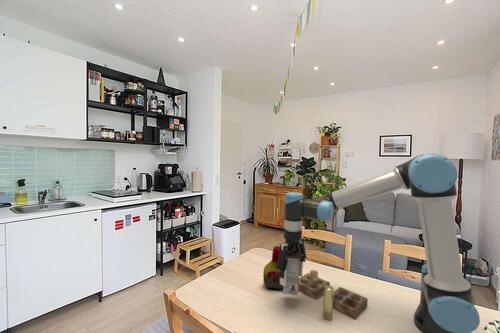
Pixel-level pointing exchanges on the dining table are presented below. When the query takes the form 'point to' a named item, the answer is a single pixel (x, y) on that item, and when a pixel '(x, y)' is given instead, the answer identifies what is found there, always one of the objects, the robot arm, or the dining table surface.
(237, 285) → the dining table surface
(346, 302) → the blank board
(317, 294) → the board
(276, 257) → the bottle
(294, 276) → the coffee box
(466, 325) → the robot arm
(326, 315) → the peg
